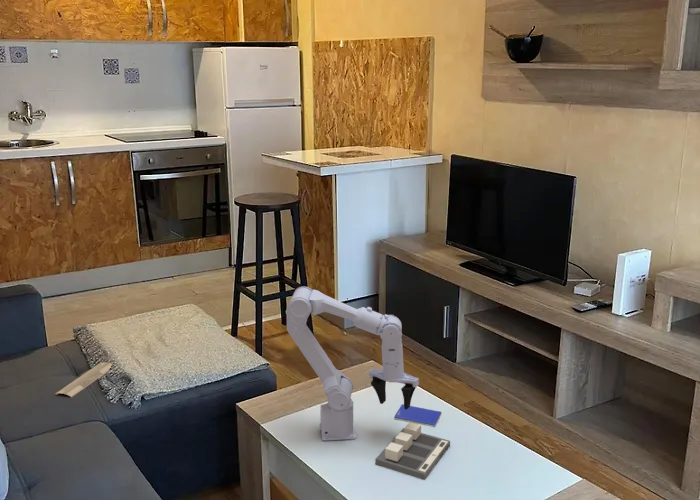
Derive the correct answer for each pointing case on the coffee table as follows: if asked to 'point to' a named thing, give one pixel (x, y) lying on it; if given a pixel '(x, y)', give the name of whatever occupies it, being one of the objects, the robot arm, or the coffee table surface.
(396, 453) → the tab
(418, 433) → the tab
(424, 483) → the coffee table surface
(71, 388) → the tan wooden bar
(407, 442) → the tab
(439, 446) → the switch bank
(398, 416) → the hard drive
